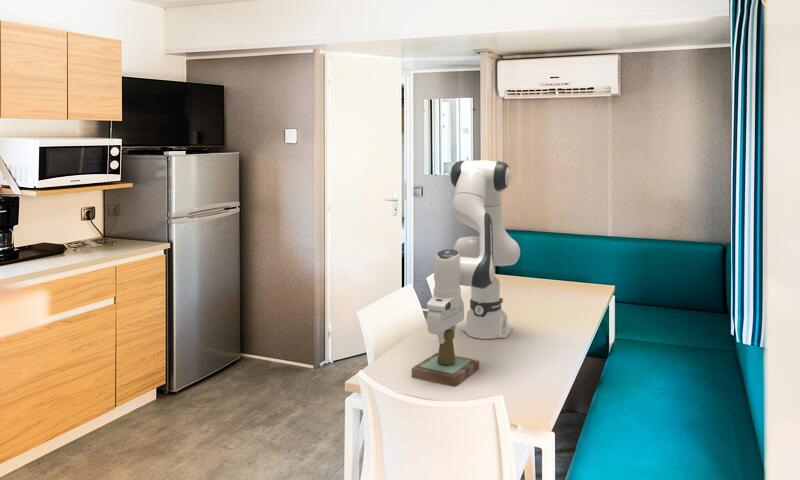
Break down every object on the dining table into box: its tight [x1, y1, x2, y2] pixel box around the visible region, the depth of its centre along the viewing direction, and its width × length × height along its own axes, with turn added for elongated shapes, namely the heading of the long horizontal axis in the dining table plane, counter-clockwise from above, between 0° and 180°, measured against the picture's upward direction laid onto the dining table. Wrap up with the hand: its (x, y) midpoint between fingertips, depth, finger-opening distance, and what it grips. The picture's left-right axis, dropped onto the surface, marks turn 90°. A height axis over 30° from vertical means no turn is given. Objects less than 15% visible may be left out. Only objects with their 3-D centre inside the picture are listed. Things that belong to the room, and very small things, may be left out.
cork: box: [437, 329, 456, 365], centre depth 216 cm, size 6×6×11 cm
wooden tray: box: [411, 352, 480, 387], centre depth 217 cm, size 18×16×3 cm
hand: (446, 340), depth 215 cm, fingers closed on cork, 5 cm apart
